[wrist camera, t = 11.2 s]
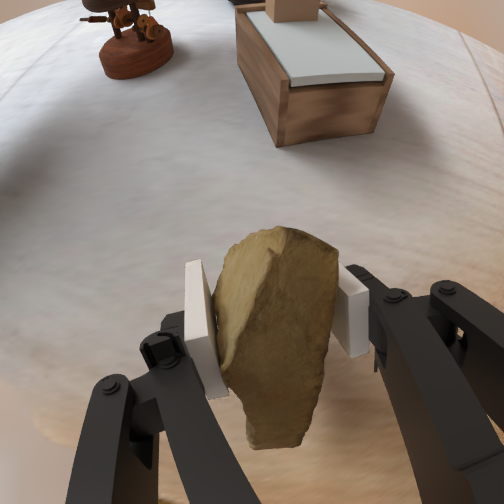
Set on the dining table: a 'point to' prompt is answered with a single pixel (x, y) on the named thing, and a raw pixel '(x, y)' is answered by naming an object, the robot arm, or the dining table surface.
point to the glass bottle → (247, 1)
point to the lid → (312, 44)
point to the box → (306, 91)
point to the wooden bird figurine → (131, 38)
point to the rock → (276, 330)
